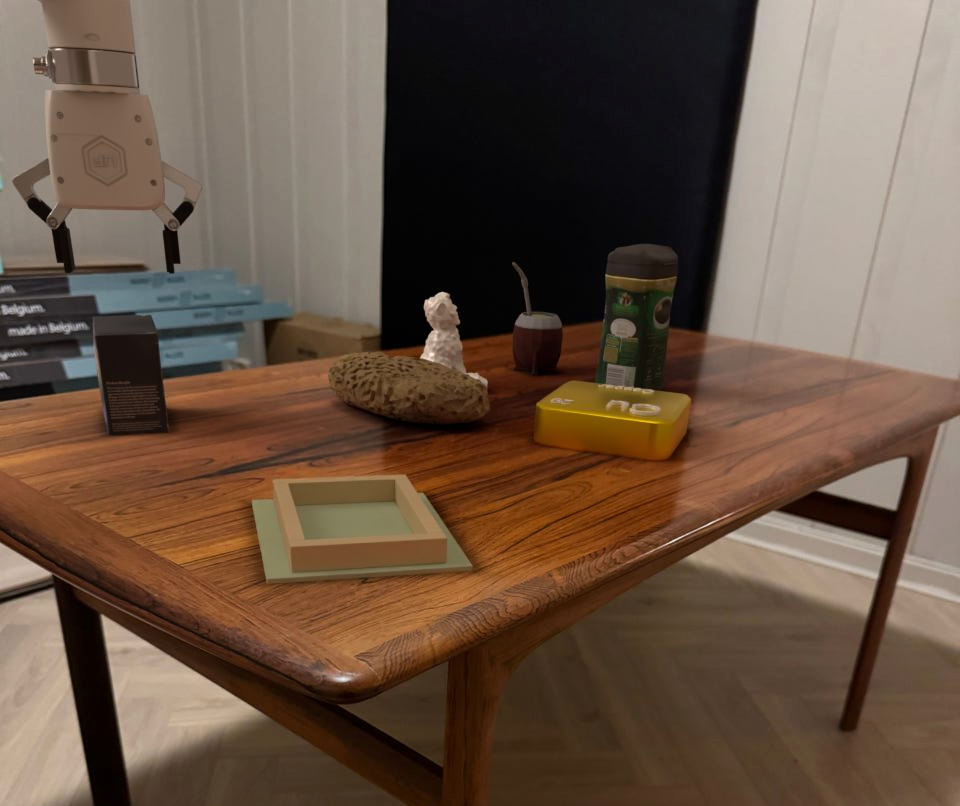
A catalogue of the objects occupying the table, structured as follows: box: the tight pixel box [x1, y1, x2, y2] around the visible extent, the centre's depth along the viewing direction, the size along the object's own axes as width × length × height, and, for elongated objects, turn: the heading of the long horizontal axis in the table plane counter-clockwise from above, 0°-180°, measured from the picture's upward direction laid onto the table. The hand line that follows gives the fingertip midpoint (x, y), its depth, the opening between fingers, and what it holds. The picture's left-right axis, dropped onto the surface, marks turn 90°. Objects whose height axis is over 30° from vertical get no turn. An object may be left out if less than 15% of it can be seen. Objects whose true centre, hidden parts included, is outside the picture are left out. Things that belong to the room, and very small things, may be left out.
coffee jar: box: [594, 243, 679, 391], centre depth 123 cm, size 10×8×19 cm
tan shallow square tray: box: [251, 474, 474, 585], centre depth 76 cm, size 15×17×3 cm
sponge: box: [327, 351, 491, 426], centre depth 109 cm, size 13×8×20 cm
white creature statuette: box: [419, 291, 489, 392], centre depth 122 cm, size 10×9×12 cm
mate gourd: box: [511, 261, 564, 377], centre depth 133 cm, size 8×8×15 cm
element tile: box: [533, 380, 692, 462], centre depth 106 cm, size 15×15×5 cm
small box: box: [92, 314, 171, 436], centre depth 101 cm, size 11×6×10 cm, turn 21°
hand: (121, 271), depth 96 cm, fingers open, 9 cm apart
